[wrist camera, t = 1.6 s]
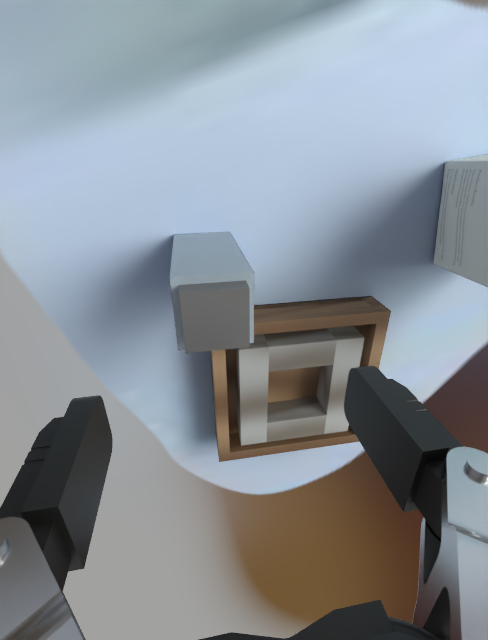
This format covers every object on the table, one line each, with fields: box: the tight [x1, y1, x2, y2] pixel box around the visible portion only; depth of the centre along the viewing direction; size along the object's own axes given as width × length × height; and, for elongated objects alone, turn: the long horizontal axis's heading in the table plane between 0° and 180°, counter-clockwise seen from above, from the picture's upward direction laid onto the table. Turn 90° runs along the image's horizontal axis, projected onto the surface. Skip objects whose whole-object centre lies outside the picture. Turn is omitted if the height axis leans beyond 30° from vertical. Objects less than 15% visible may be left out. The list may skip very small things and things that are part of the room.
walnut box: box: [211, 296, 391, 462], centre depth 29 cm, size 14×14×3 cm
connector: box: [170, 232, 254, 353], centre depth 20 cm, size 4×4×10 cm
